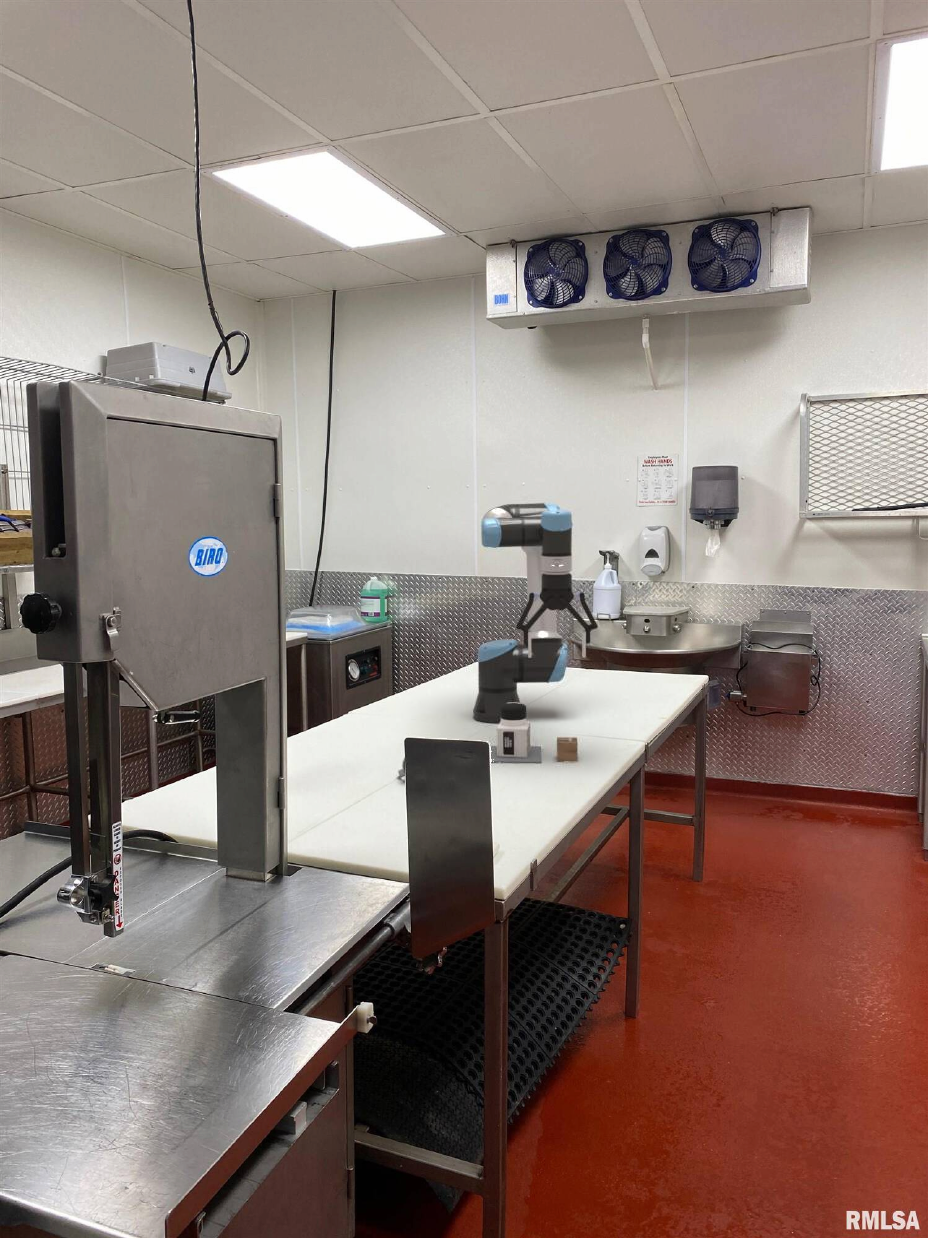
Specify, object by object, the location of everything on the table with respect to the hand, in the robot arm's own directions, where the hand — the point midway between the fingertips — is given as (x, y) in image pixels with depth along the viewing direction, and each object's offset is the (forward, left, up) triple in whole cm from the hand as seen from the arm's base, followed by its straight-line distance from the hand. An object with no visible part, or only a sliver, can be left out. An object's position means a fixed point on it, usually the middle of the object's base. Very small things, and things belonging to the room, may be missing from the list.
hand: (556, 656), depth 219 cm
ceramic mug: (+21, -33, -26) cm, 47 cm away
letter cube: (+4, +2, -26) cm, 26 cm away
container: (+1, -11, -25) cm, 28 cm away
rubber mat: (+1, -11, -26) cm, 28 cm away
